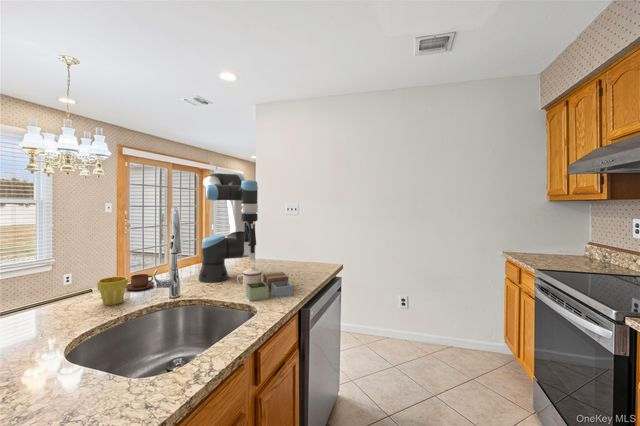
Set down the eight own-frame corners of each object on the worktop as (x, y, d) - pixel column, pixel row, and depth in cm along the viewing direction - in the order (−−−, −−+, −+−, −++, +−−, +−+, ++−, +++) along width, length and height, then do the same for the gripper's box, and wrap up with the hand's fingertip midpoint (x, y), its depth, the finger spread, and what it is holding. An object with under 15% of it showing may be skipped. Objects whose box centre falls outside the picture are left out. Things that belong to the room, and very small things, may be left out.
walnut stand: (263, 287, 148) (263, 273, 147) (282, 285, 152) (282, 271, 151) (267, 293, 138) (267, 278, 138) (288, 291, 142) (288, 276, 142)
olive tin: (246, 297, 133) (246, 283, 133) (264, 295, 136) (264, 282, 136) (249, 302, 126) (249, 288, 125) (268, 300, 129) (268, 286, 129)
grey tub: (271, 293, 139) (271, 282, 138) (287, 291, 142) (287, 281, 142) (275, 298, 131) (275, 287, 131) (292, 296, 134) (293, 285, 134)
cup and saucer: (140, 284, 152) (140, 272, 151) (159, 286, 148) (159, 273, 148) (118, 290, 140) (118, 277, 140) (139, 293, 137) (139, 280, 137)
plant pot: (131, 302, 124) (130, 279, 124) (101, 308, 117) (100, 284, 116) (124, 296, 131) (123, 274, 131) (95, 302, 124) (94, 279, 123)
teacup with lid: (264, 287, 147) (264, 264, 147) (258, 293, 138) (258, 268, 138) (240, 286, 148) (240, 263, 148) (233, 292, 139) (233, 267, 139)
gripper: (237, 212, 152) (237, 253, 152) (245, 214, 129) (245, 262, 130) (252, 212, 155) (252, 252, 155) (263, 214, 132) (263, 261, 133)
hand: (249, 257), depth 143 cm, fingers open, 13 cm apart
